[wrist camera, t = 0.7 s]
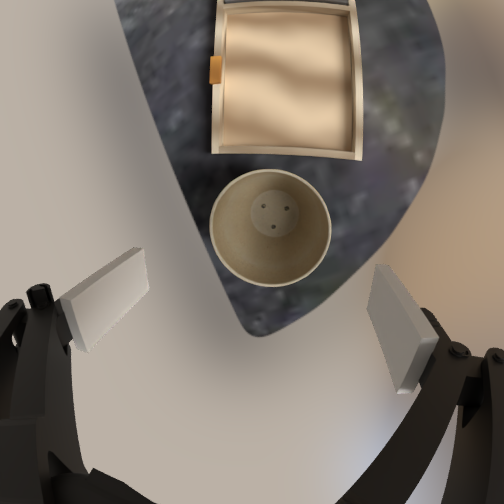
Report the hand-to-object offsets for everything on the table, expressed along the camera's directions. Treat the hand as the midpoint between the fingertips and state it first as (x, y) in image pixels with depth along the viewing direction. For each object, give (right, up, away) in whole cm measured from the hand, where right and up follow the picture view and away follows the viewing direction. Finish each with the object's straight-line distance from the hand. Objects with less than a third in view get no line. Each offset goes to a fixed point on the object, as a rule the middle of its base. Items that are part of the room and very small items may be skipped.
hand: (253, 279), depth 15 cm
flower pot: (+2, +6, +14) cm, 16 cm away
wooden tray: (+4, +21, +8) cm, 23 cm away
